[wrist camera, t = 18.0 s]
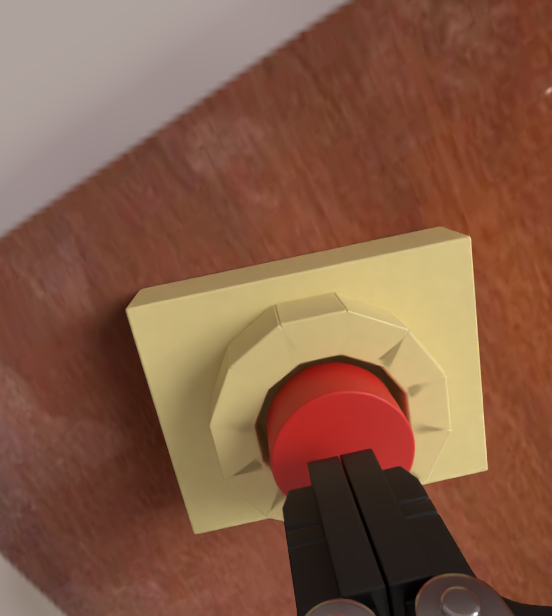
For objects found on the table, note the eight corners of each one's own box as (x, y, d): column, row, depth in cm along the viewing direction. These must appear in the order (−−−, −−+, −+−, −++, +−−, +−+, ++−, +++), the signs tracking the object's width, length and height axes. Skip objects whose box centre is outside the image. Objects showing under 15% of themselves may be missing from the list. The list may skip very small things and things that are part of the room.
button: (279, 487, 14) (285, 532, 12) (253, 376, 13) (256, 409, 11) (401, 461, 14) (423, 501, 12) (385, 348, 13) (407, 376, 11)
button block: (198, 492, 18) (188, 581, 14) (138, 289, 16) (107, 330, 12) (459, 435, 18) (519, 508, 14) (440, 225, 16) (505, 246, 12)
